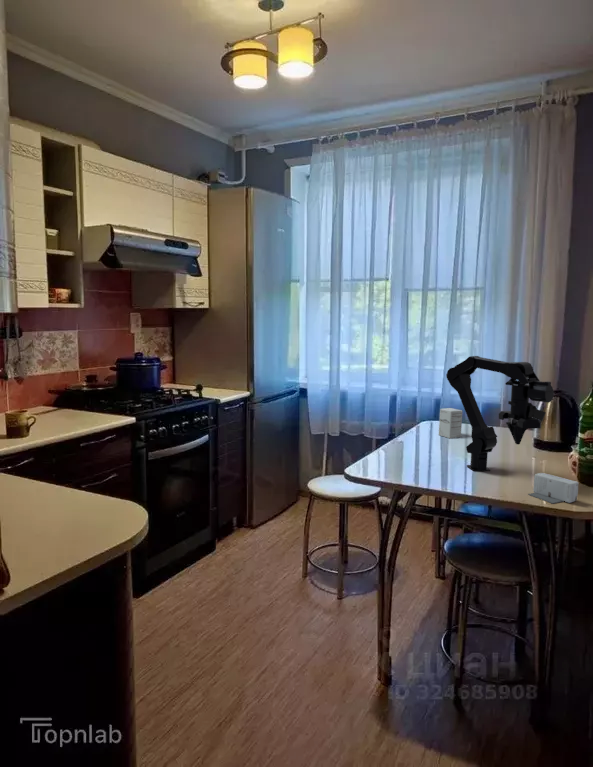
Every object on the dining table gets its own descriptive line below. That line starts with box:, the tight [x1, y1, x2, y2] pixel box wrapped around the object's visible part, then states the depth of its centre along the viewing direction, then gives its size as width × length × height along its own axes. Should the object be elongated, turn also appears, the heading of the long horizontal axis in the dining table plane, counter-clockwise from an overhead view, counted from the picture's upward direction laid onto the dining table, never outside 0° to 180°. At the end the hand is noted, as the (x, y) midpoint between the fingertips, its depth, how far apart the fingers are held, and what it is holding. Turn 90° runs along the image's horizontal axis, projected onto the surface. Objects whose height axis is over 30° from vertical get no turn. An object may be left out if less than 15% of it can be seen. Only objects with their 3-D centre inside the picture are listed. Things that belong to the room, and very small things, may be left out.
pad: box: [527, 492, 564, 505], centre depth 174 cm, size 9×8×1 cm
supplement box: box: [438, 407, 463, 439], centre depth 257 cm, size 7×7×13 cm
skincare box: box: [532, 472, 579, 504], centre depth 173 cm, size 6×4×12 cm
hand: (517, 444), depth 192 cm, fingers closed
